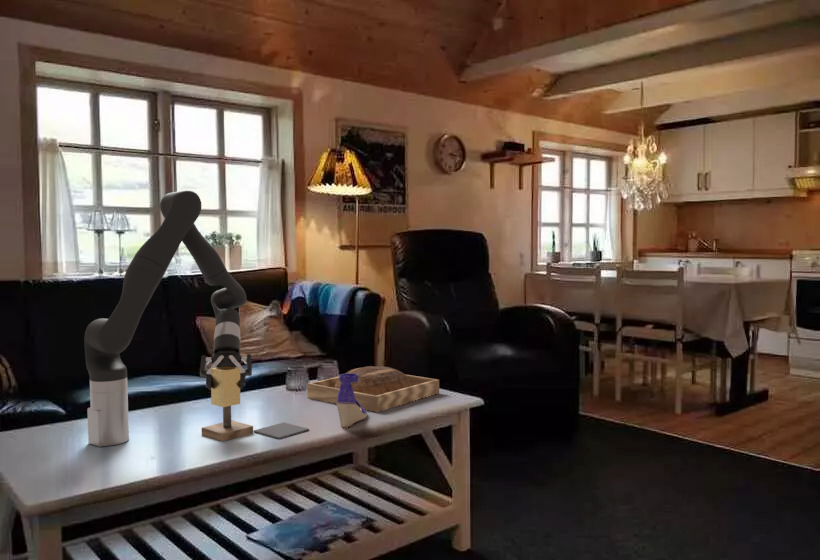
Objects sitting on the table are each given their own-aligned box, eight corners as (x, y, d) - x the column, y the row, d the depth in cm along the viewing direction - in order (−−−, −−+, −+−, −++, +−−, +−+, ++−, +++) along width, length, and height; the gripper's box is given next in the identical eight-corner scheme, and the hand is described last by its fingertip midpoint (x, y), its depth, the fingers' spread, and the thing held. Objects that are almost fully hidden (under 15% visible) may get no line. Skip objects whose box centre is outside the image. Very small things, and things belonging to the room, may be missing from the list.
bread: (320, 394, 237) (320, 367, 236) (378, 383, 255) (378, 358, 254) (366, 407, 218) (365, 377, 217) (425, 395, 236) (425, 367, 235)
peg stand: (223, 441, 181) (222, 394, 180) (201, 434, 187) (200, 389, 186) (253, 433, 188) (252, 388, 188) (231, 427, 195) (230, 383, 194)
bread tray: (376, 412, 211) (376, 396, 210) (307, 397, 231) (307, 383, 231) (439, 393, 236) (439, 379, 236) (372, 382, 256) (372, 369, 256)
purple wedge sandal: (374, 413, 210) (373, 365, 209) (352, 430, 191) (351, 378, 190) (349, 411, 212) (349, 364, 211) (325, 428, 193) (325, 376, 192)
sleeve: (223, 407, 183) (222, 371, 182) (211, 404, 186) (211, 368, 186) (240, 403, 187) (240, 368, 187) (228, 400, 191) (228, 365, 190)
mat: (278, 439, 182) (278, 437, 182) (253, 432, 189) (253, 430, 189) (309, 430, 191) (309, 428, 191) (283, 424, 198) (283, 422, 198)
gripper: (201, 333, 192) (197, 380, 181) (252, 332, 195) (252, 379, 184) (202, 349, 197) (199, 396, 187) (252, 347, 200) (252, 394, 190)
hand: (225, 387), depth 186 cm, fingers closed on sleeve, 8 cm apart
